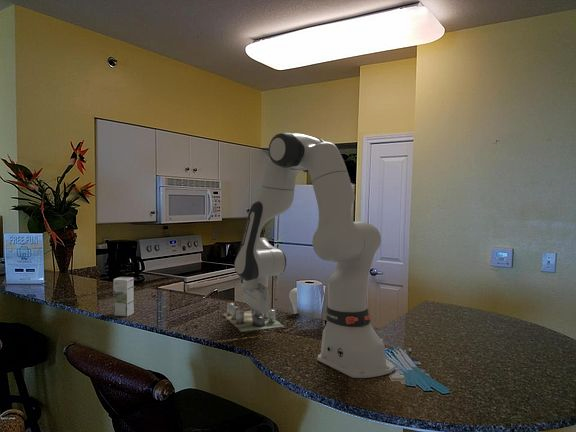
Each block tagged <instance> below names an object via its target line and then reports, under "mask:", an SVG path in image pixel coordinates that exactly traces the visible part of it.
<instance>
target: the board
mask: <svg viewBox="0 0 576 432" xmlns="http://www.w3.org/2000/svg"><path fill="white" fill-rule="evenodd" d="M222 315H223V317H225V318H226V320H228V321H229V322H230V323H231V324H232V325H233V326H234V327H235V328H236V329H237V330H239V331H240V333H241V332H250V331H258V330H265V329H273V328H282V327H285V325H284V324H282V323H281V322H279V321H278V320H277V319H275V323H273V324H271V323H268V319H265V326H263V327H254V326H252V313H251V310H247V311H245V310H244V324H242V325H238V324H236V320H231V316H227V312H226V313H222Z"/></svg>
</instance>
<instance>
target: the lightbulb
mask: <svg viewBox="0 0 576 432" xmlns="http://www.w3.org/2000/svg"><path fill="white" fill-rule="evenodd" d="M297 288H298V287H294V288H293V289H291V290H290V292H289V295H288V297H289V300H290V302H291V304H292V309H293V315H294V314H296V313H297Z"/></svg>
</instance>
